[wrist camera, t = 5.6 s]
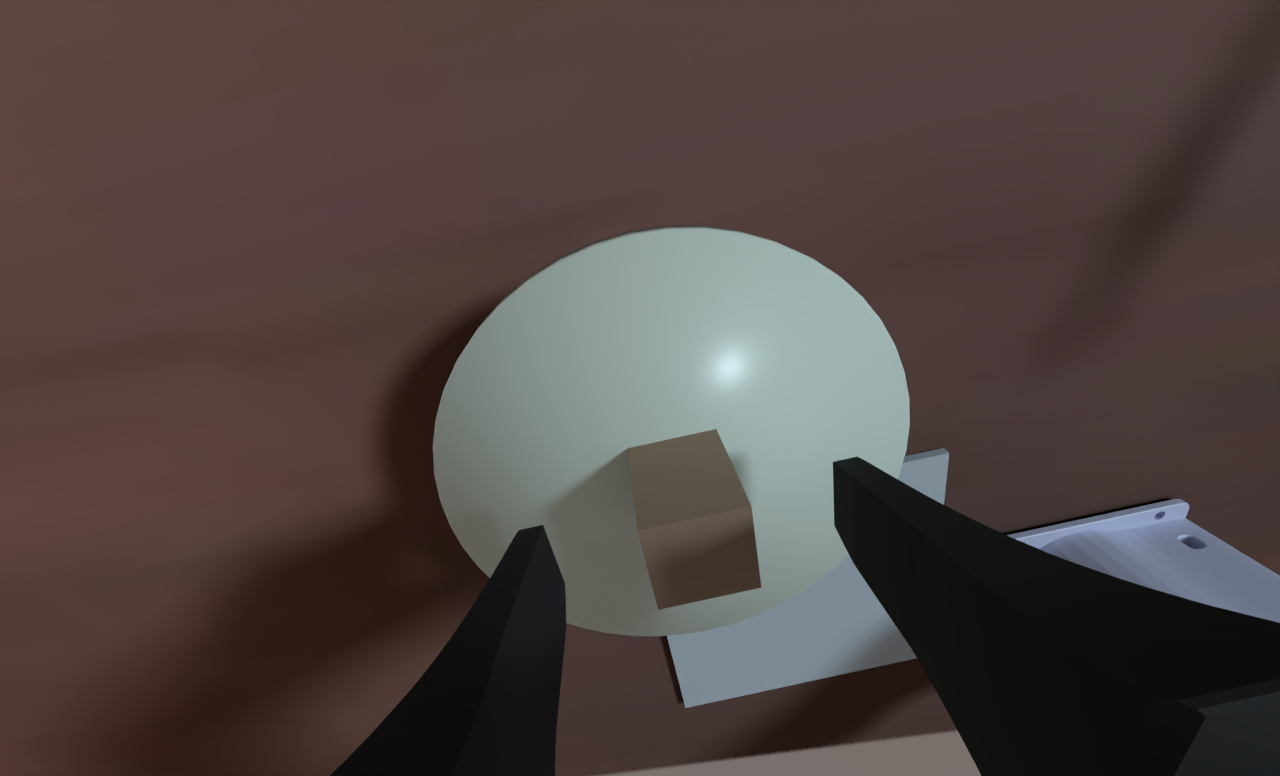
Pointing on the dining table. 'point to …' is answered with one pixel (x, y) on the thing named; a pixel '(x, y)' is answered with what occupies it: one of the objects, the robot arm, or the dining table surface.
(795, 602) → the mat
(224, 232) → the dining table surface
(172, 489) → the dining table surface
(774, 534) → the lid
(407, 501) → the dining table surface
